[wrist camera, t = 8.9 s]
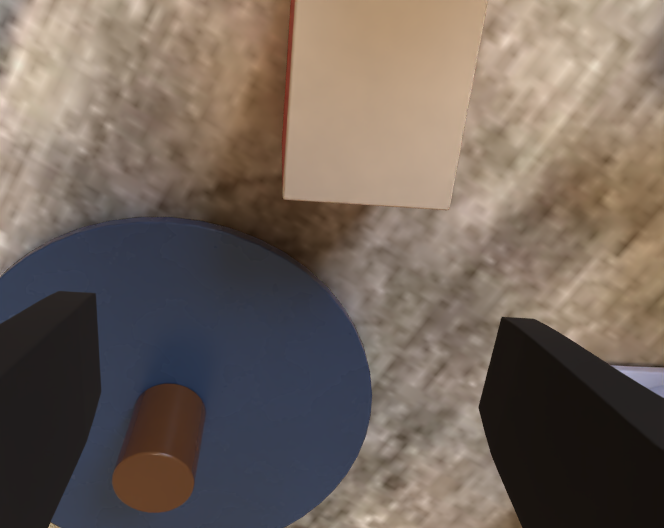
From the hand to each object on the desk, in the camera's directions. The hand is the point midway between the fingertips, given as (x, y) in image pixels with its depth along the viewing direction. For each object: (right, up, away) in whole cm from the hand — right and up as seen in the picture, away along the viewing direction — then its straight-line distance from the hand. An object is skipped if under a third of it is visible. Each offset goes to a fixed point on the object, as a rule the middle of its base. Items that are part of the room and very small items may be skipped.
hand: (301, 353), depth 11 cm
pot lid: (-5, -3, +11) cm, 12 cm away
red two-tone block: (+1, +7, +7) cm, 10 cm away
